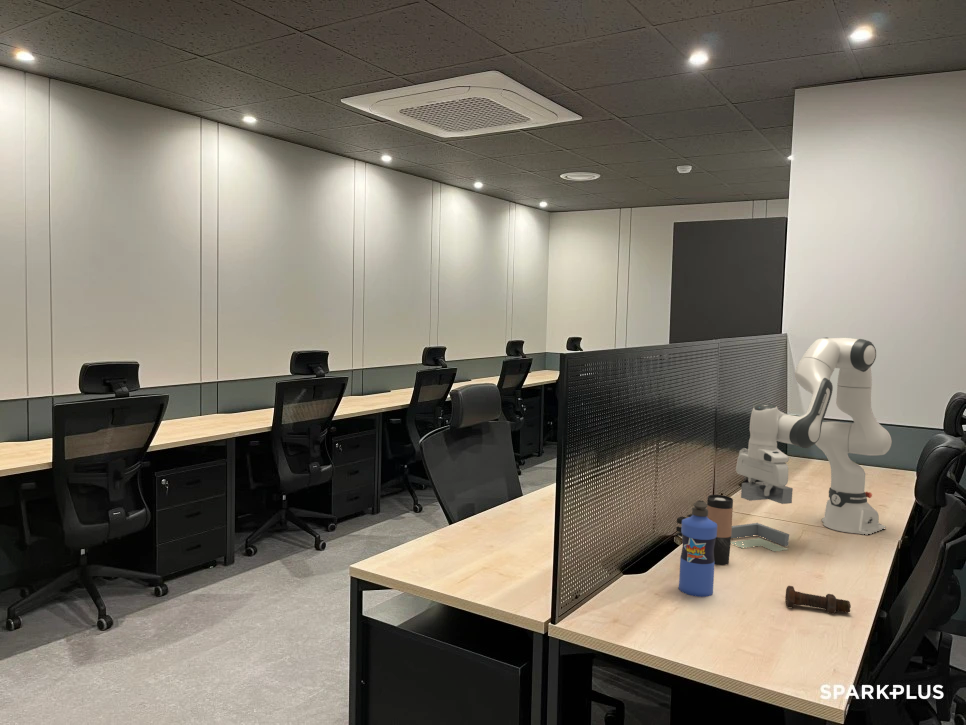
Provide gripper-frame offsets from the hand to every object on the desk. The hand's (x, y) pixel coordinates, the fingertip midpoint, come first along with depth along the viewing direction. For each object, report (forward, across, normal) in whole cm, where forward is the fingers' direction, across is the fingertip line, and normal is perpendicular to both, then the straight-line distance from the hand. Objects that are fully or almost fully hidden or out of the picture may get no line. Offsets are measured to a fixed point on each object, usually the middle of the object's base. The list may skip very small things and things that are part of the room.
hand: (759, 493), depth 231 cm
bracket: (+2, +3, 0) cm, 3 cm away
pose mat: (+18, +2, -1) cm, 18 cm away
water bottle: (+18, +27, -46) cm, 56 cm away
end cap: (+18, -14, -15) cm, 27 cm away
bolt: (+18, +47, -23) cm, 55 cm away
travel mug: (+18, +9, -24) cm, 32 cm away
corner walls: (+17, -2, +1) cm, 18 cm away
